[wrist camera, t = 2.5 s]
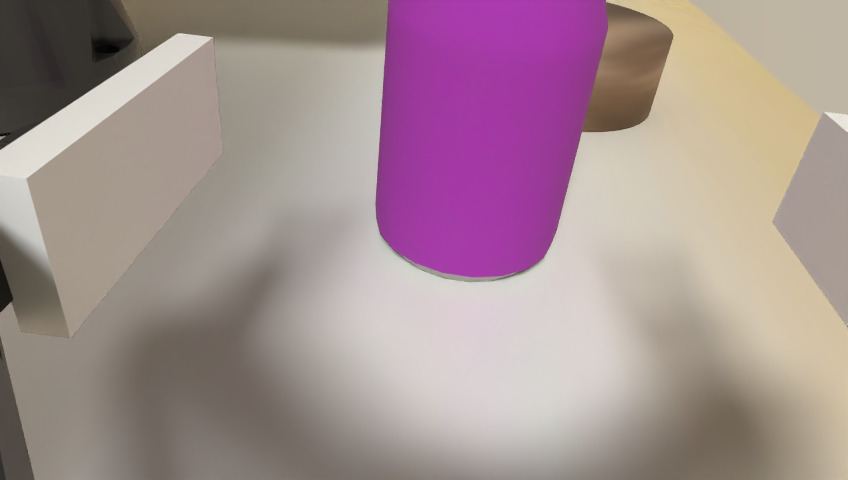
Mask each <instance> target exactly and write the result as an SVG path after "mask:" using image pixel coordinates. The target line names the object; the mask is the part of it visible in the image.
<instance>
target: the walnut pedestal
mask: <svg viewBox="0 0 848 480" xmlns="http://www.w3.org/2000/svg"><path fill="white" fill-rule="evenodd" d="M606 9H607V19H608V31H607V35H606V39H605V43H604V47H603V51H602V55H601V59H600V63H599V67H598V70H597V74H596V78H595V82H594V86H593V90H592V94H591V98H590V102H589V106H588V110H587V113H586V117H585V121H584V125H583V129H582V131H588V132H598V131H614V130H620V129H625V128H629V127H633V126H635V125H637V124H640V123H641V122H643V121H644V120H645V119H646V118H647V117H648V115H649V113H650V110H651V106H652V103H653V100H654V97H655V94H656V91H657V87H658V84H659V81H660V78H661V75H662V72H663V68H664V65H665V62H666V59H667V56H668V53H669V49H670V46H671V43H672V40H673V33H672V31H671V30H670V29H669V28H668V27H667V26H666V25H664V24H663V23H661V22H660V21H658V20H656V19H654V18H652V17H650V16H648V15H645V14H643V13H640V12H637V11H634V10H631V9H628V8H625V7H622V6H618V5H615V4H611V3H607V2H606Z"/></svg>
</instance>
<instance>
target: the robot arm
mask: <svg viewBox="0 0 848 480" xmlns="http://www.w3.org/2000/svg"><path fill="white" fill-rule="evenodd" d="M11 132H12V133H11ZM2 133H11V134H9V135H7V136H6V137H4V138H3V139H1V140H0V312H1V311H2V310H3V309H4V308H5V307H6V306H7V305H8V304H9V303H10V302H11V301H12V304H13V308H14V311H15V314H16V317H17V320H18V323H19V326H20V329H21V332H27V333H34V334H42V335H49V336H57V337H64V338H71V337H72V336H73V335H74V334H75V332H76V331H77V330H78V329H79V328H80V326H81V325H82V324H83V323H84V322H85V320H86V319H87V318H88V317H89V315H90V314H91V313H92V312H93V311H94V309H95V308H96V307H97V306H98V304H99V303H100V302H101V301H102V300H103V298H104V297H105V296H106V295H107V294H108V292H109V291H110V290H111V289H112V287H113V286H114V285H115V284H116V283H117V281H118V280H119V279H120V278H121V276H122V275H123V274H124V273H125V272H126V270H127V269H128V268H129V267H130V266H131V264H132V263H133V262H134V261H135V259H136V258H137V257H138V256H139V255H140V253H141V252H142V251H143V250H144V248H145V247H146V246H147V245H148V244H149V242H150V241H151V240H152V239H153V238H154V236H155V235H156V234H157V233H158V231H159V230H160V229H161V228H162V227H163V225H164V224H165V223H166V222H167V220H168V219H169V218H170V217H171V216H172V214H173V213H174V212H175V211H176V210H177V208H178V207H179V206H180V205H181V203H182V202H183V201H184V200H185V199H186V197H187V196H188V195H189V194H190V192H191V191H192V190H193V189H194V188H195V186H196V185H197V184H198V183H199V182H200V180H201V179H202V178H203V177H204V175H205V174H206V173H207V172H208V171H209V169H210V168H211V167H212V166H213V164H214V163H215V162H216V161H217V160H218V158H219V157H220V156H221V155H222V154H223V147H222V135H221V124H220V112H219V100H218V89H217V77H216V65H215V53H214V42H213V37H207V36H199V35H191V34H182V33H177V34H176V35H174V36H173V37H171V38H170V39H168V40H167V41H165V42H164V43H162V44H161V45H159V46H158V47H156V48H155V49H153V50H152V51H150V52H149V53H147V54H146V55H144V56H143V57H142V52H141V45H140V41H139V38H138V35H137V33H136V31H135V29H134V27H133V25H132V23H131V21H130V19H129V17H128V15H127V13H126V11H125V9H124V7H123V5H122V3H121V1H120V0H0V134H2ZM772 223H773V224H774V225H775V227H776V228H777V230H778V231H779V232H780V234H781V235H782V237H783V238H784V239H785V241H786V242H787V244H788V245H789V246H790V248H791V249H792V251H793V252H794V253H795V255H796V256H797V257H798V259H799V260H800V262H801V263H802V264H803V266H804V267H805V269H806V270H807V271H808V273H809V274H810V276H811V277H812V278H813V280H814V281H815V283H816V284H817V285H818V287H819V288H820V290H821V291H822V292H823V294H824V295H825V297H826V298H827V299H828V301H829V302H830V304H831V305H832V306H833V308H834V309H835V311H836V312H837V313H838V315H839V316H840V318H841V319H842V320H843V322H844V323H845V325H846V326H847V327H848V115H845V114H837V113H829V112H823V114H822V116H821V118H820V120H819V122H818V124H817V127H816V129H815V131H814V133H813V135H812V137H811V139H810V142H809V144H808V146H807V148H806V150H805V152H804V155H803V157H802V159H801V161H800V163H799V165H798V167H797V170H796V172H795V174H794V176H793V178H792V180H791V183H790V185H789V187H788V189H787V191H786V193H785V195H784V198H783V200H782V202H781V204H780V206H779V208H778V210H777V213H776V215H775V217H774V219H773V221H772ZM0 480H34V476H33V471H32V467H31V463H30V459H29V455H28V450H27V446H26V442H25V438H24V434H23V430H22V425H21V421H20V417H19V413H18V409H17V405H16V400H15V396H14V392H13V388H12V384H11V379H10V375H9V371H8V367H7V363H6V359H5V354H4V350H3V346H2V342H1V338H0Z"/></svg>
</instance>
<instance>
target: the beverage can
mask: <svg viewBox="0 0 848 480" xmlns="http://www.w3.org/2000/svg"><path fill="white" fill-rule="evenodd" d="M607 31H608V19H607V9H606V0H389V3H388V19H387V34H386V50H385V65H384V81H383V97H382V112H381V128H380V143H379V159H378V175H377V190H376V218H377V222H378V226H379V230H380V234H381V235H382V237H383V238H384V239H385V240H386V241H387V243H388V244H389V245H390V246H391V247H392V248H393V250H395V251H396V252H398V253H399V254H401V255H402V256H403V257H404V258H405V259H406V260H407V261H409V262H410V263H412V264H413V265H415V266H417V267H418V268H420V269H421V270H423V271H425V272H428V273H431V274H434V275H437V276H440V277H442V278H446V279H452V280H459V281H466V282H478V281H493V280H497V279H500V278H504V277H507V276H511V275H513V274H515V273H517V272H520V271H523V270H526V269H528V268H530V267H531V266H533V265H534V264H536V263H537V262H538V261H540V260H541V259H543V258H544V256H545V254H546V252H547V251H548V249H549V247H550V245H551V243H552V240H553V238H554V235H555V233H556V230H557V227H558V223H559V219H560V215H561V211H562V207H563V203H564V199H565V195H566V192H567V188H568V184H569V180H570V176H571V172H572V168H573V164H574V160H575V156H576V152H577V149H578V145H579V141H580V137H581V133H582V129H583V125H584V121H585V117H586V113H587V110H588V106H589V102H590V98H591V94H592V90H593V86H594V82H595V78H596V74H597V70H598V67H599V63H600V59H601V55H602V51H603V47H604V43H605V39H606V35H607Z"/></svg>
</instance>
